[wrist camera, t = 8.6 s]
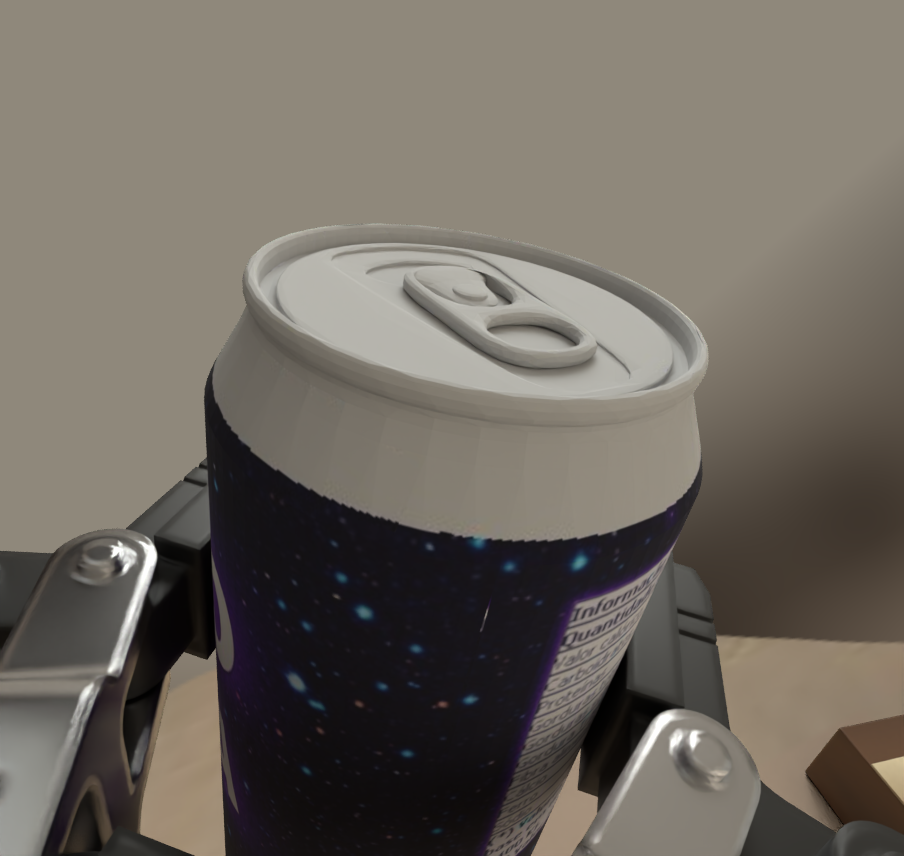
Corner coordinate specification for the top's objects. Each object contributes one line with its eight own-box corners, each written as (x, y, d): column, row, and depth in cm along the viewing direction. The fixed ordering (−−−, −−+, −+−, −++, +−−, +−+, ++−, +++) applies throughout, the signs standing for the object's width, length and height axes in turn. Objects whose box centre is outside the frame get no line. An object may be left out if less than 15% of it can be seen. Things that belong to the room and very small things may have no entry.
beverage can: (421, 683, 16) (522, 217, 10) (563, 906, 12) (863, 375, 6) (193, 785, 13) (140, 209, 7) (289, 1121, 9) (355, 505, 3)
